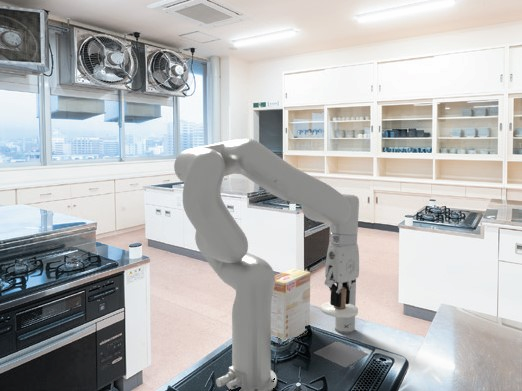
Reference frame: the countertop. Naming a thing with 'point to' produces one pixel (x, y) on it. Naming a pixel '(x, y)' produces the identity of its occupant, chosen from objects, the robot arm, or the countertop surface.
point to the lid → (342, 311)
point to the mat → (341, 354)
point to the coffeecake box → (290, 304)
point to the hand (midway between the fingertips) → (339, 303)
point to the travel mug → (347, 323)
